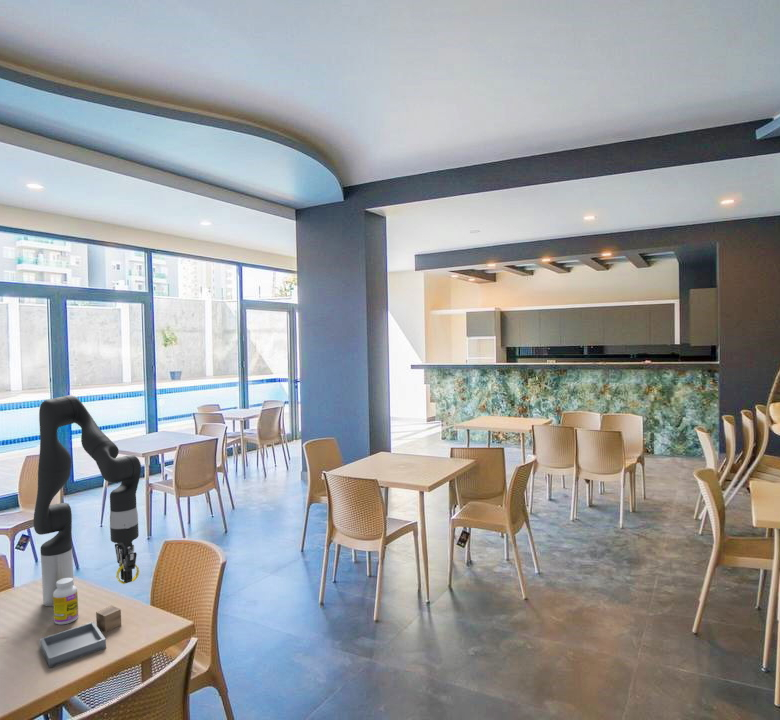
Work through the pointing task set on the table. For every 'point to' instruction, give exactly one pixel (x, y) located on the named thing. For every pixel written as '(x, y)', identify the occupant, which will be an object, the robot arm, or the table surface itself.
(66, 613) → the supplement bottle
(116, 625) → the walnut block
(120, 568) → the watch
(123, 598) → the table surface
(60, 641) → the slate tray
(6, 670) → the table surface
